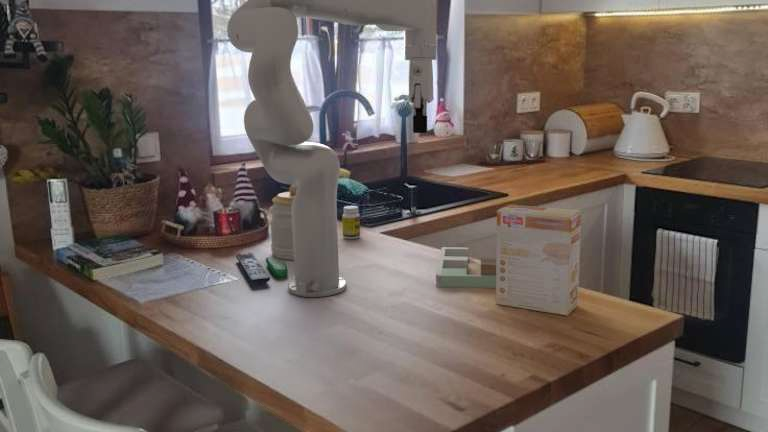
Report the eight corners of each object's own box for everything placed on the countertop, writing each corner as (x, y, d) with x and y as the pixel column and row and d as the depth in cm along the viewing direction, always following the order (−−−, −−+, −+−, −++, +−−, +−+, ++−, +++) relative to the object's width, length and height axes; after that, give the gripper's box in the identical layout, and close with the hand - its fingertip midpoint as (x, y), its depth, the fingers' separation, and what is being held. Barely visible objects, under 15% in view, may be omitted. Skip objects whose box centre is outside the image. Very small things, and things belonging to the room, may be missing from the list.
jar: (263, 259, 187) (259, 189, 183) (282, 245, 199) (279, 179, 195) (313, 262, 184) (310, 190, 180) (329, 248, 196) (327, 181, 192)
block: (503, 287, 163) (504, 264, 162) (480, 286, 164) (480, 264, 163) (503, 279, 168) (503, 258, 167) (480, 279, 169) (480, 257, 167)
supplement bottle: (358, 239, 204) (357, 209, 202) (341, 239, 205) (340, 208, 203) (362, 235, 209) (361, 205, 207) (345, 234, 210) (344, 204, 208)
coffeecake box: (578, 305, 151) (582, 209, 146) (567, 316, 145) (571, 217, 140) (507, 294, 158) (509, 202, 154) (494, 304, 152) (495, 209, 148)
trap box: (518, 288, 162) (518, 277, 161) (436, 286, 164) (436, 275, 163) (514, 258, 184) (514, 248, 183) (441, 256, 186) (441, 247, 186)
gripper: (433, 53, 168) (432, 136, 172) (439, 53, 183) (438, 129, 187) (399, 54, 170) (400, 136, 174) (408, 53, 184) (408, 129, 188)
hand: (420, 132), depth 180 cm, fingers closed
